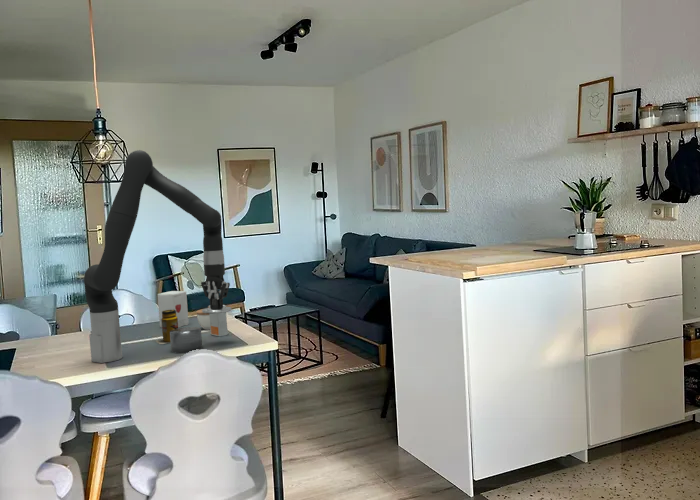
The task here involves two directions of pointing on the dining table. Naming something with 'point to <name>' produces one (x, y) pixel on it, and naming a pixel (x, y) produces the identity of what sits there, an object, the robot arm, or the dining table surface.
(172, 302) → the supplement box
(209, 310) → the lid
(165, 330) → the condiment
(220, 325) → the skincare box
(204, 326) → the lidded jar
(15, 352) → the dining table surface
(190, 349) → the grey block
